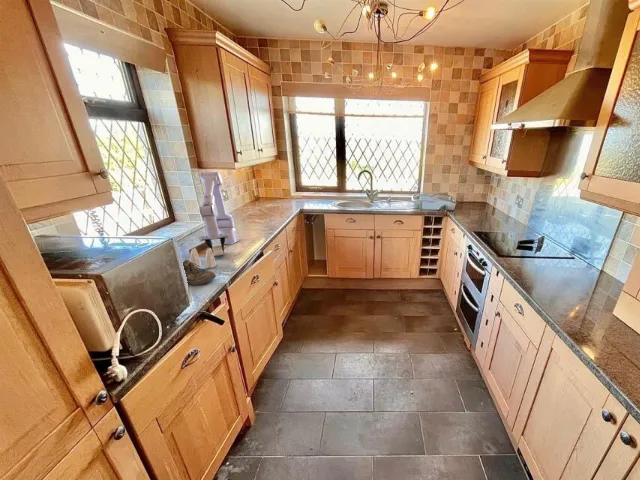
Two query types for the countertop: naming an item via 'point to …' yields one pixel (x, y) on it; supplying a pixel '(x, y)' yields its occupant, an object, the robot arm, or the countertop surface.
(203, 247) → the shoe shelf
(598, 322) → the countertop surface
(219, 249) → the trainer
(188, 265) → the hiking shoe
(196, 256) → the shaker set
